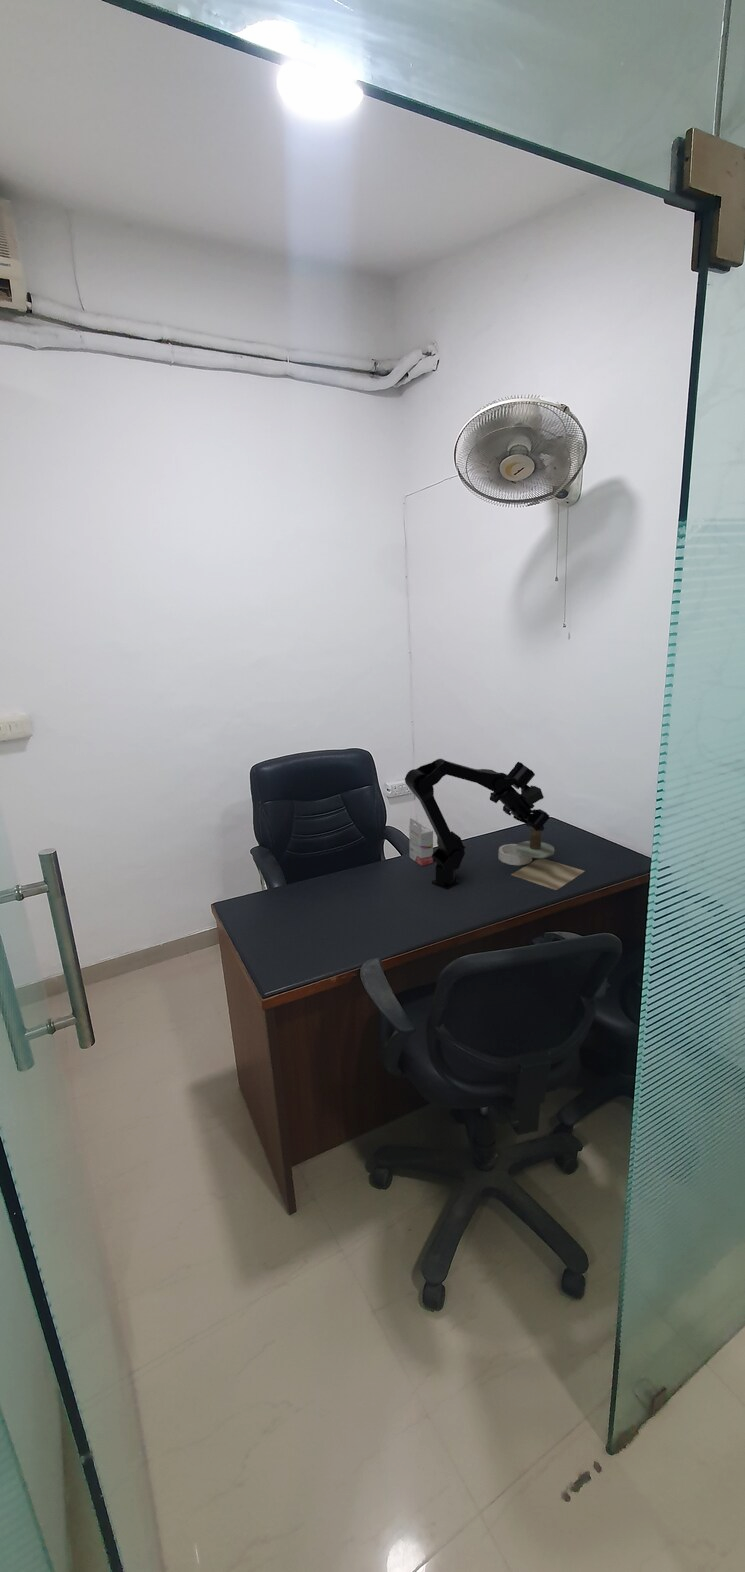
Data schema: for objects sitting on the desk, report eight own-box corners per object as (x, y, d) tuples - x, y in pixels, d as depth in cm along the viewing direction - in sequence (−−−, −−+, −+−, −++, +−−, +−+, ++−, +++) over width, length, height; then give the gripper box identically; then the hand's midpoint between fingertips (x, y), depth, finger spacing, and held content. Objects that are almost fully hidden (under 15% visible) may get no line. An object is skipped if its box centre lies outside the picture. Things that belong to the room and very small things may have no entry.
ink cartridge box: (433, 863, 203) (434, 822, 199) (421, 866, 201) (420, 825, 197) (421, 854, 211) (421, 814, 206) (408, 857, 209) (408, 817, 204)
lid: (547, 860, 189) (549, 828, 186) (510, 853, 196) (512, 821, 192) (558, 848, 199) (561, 816, 196) (523, 841, 205) (525, 810, 202)
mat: (556, 891, 182) (556, 890, 182) (510, 875, 193) (510, 874, 193) (584, 871, 194) (584, 871, 194) (540, 858, 205) (540, 857, 205)
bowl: (520, 868, 197) (520, 859, 197) (492, 859, 205) (492, 850, 204) (538, 858, 205) (538, 849, 204) (510, 849, 212) (510, 841, 211)
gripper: (546, 788, 180) (574, 818, 187) (512, 772, 197) (539, 800, 204) (521, 816, 180) (551, 845, 187) (490, 798, 197) (518, 825, 204)
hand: (539, 827), depth 195 cm, fingers closed on lid, 3 cm apart
